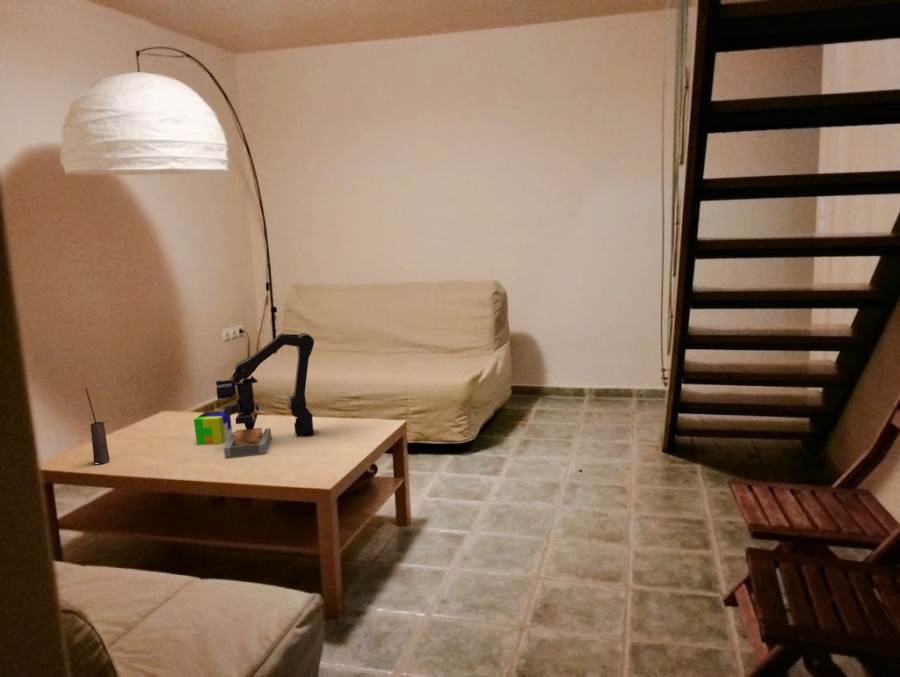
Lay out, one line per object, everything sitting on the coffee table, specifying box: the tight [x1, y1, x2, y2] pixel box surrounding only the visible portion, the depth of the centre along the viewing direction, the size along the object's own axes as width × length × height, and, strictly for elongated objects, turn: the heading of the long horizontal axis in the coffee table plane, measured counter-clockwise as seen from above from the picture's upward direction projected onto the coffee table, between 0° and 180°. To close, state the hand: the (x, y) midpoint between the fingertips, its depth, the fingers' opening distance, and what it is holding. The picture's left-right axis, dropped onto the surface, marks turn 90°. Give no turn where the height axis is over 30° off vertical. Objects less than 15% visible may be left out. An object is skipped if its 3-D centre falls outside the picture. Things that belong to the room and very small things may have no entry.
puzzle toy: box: [193, 411, 233, 445], centre depth 269 cm, size 10×10×10 cm
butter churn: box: [84, 387, 111, 464], centre depth 249 cm, size 9×10×28 cm
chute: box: [223, 428, 272, 459], centre depth 257 cm, size 14×20×4 cm
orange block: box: [234, 427, 263, 446], centre depth 258 cm, size 9×6×5 cm, turn 98°
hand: (250, 434), depth 263 cm, fingers closed
